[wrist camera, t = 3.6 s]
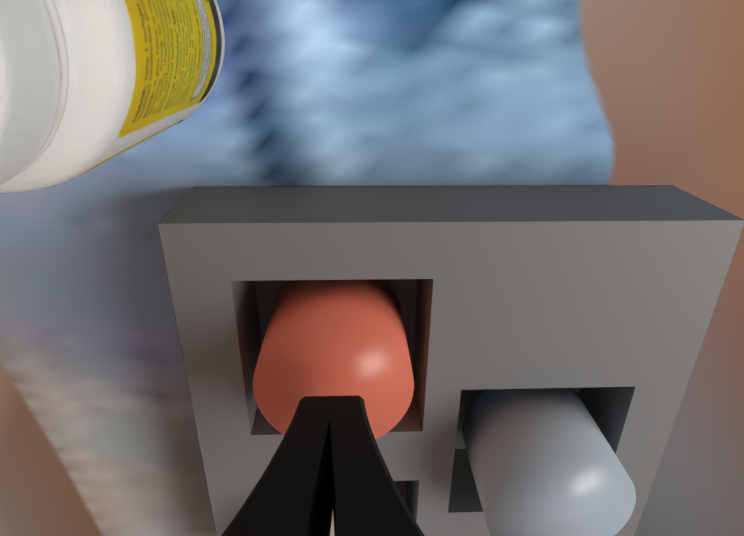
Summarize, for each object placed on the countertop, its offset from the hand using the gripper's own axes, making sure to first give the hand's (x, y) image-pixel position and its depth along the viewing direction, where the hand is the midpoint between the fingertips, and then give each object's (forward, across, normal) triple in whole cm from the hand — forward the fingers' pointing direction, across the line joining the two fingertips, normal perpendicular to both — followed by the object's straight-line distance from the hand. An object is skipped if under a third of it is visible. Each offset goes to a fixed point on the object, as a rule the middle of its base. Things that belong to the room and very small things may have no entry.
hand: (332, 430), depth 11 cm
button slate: (+4, -6, +3) cm, 8 cm away
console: (+5, -3, +3) cm, 7 cm away
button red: (+5, 0, 0) cm, 5 cm away
